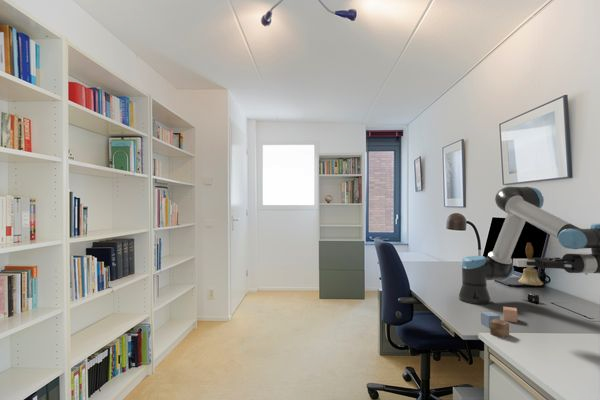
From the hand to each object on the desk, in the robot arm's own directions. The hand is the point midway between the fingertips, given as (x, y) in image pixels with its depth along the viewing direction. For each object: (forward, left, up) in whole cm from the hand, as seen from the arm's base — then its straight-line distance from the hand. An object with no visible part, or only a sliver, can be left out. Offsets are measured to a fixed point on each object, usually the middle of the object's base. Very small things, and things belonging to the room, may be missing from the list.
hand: (515, 262), depth 132 cm
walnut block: (-2, -7, -28) cm, 29 cm away
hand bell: (+3, +5, -8) cm, 10 cm away
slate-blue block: (-10, -1, -28) cm, 30 cm away
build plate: (-24, +54, -29) cm, 65 cm away
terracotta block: (-11, +14, -28) cm, 33 cm away
